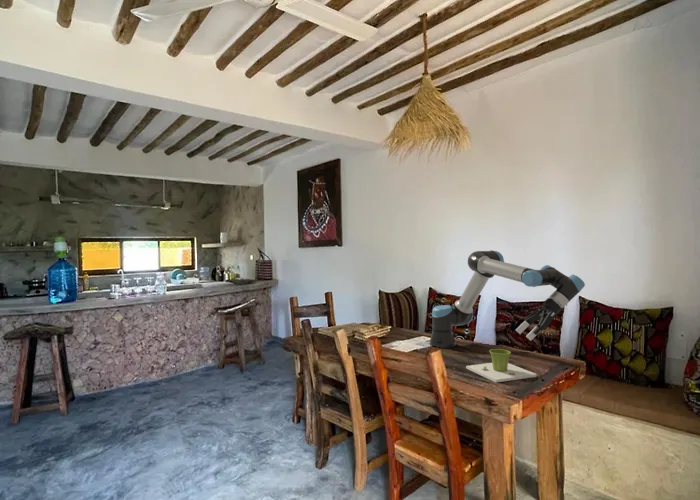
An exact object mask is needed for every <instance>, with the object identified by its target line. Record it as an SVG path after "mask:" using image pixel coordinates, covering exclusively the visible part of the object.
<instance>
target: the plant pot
mask: <svg viewBox="0 0 700 500" xmlns="http://www.w3.org/2000/svg"><path fill="white" fill-rule="evenodd" d="M488 352H489V353H490V355H491V363H492V364H493V369H494V370H496V371H507V366H508V363H509V359H510V357H511V356H510V355H511V353H512V352H511V351H510V350H507V349H502V348H492V349H490V350H489V351H488Z"/></svg>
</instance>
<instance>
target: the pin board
mask: <svg viewBox="0 0 700 500" xmlns="http://www.w3.org/2000/svg"><path fill="white" fill-rule="evenodd" d="M465 368H466V369H467V370H469V371H471V372H472V373H475V374H478V375H480V376H482V377H483V378H485V379H488V380H490V381H492V382H493V383H501V382H508V381H517V380H522V379H529V378H536V377H537V376H538V375H537V373H535V372H532V371H530V370H527V369H525V368H522V367H519V366H516V365H515V364H512V363H509V362H508V366H507V371H496V370H494V369H493V364H492V362H486V363H479V364H471V365H466V366H465Z"/></svg>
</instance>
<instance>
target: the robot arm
mask: <svg viewBox="0 0 700 500" xmlns="http://www.w3.org/2000/svg"><path fill="white" fill-rule="evenodd" d="M467 266H468V267H469V269H470V270H471V271H472V272H474V273H473V275H472V276H471V277H470V278H471V279H469V282H468V283H467V285H466V287H465V289H464V291H463V293H462V295H461V296H460V297H459V299H457V300H456V301H455V302H454V304H453V305H449V304H444V305H443V304H441V305H436V306H434V307H433V308H432V313H431V318H432V319H431V321H432V322H431V323H432V324H431V325H432V333H431V335H430V339H429V346H431V345H432V346H431V347H433V346H436V347H435V348H439V347H440V349H441V348H442V349H445V348H446V349H447V348H448V349H449V348H454V347H456V340H455V336H454V334H453V327H457V326H465V325H468V324H470V323H471V322H472V321H473V320H474V319H473V318H474V315H473V314H474V308H473V307H474V305H475V304H476V301H477V300H478V298H479V296H480V295H481V293H482V291H483V289H484V288H485V286H486V284H487V282H488V280H489V279H492V278H493V277H494V276H498V277H501V278H503V279H509V280H512V281H515V282H520V283H522V284H523V285H525V286H526V287H529V288H530V287H532V288H537V287H540V286H541V287H543V286H552V287H553V288H554V289H555V290H554V291H553V292H552V293H551V294H550V295H549V297H548V298H547V299H545V300H544V302H543V303H542V304H543V306H539V307H537V309H535V310H534V311H532V312H531V313H529V314H528V315H527V316H525V317H524V321H523V322H522V323H521V324H520V325H519V326H518V327H517V328H516V329H515V331H516V333H518V334H519V335H521V334H522V333H523V332H524V331H525V330H526V329H527V328H528V327H530V326H531V324H532V323H533V322H534V323H535V321H537V320H539V322H538V324H536V325H535V327H533V328H532V330H531V331H530V332H529V333H527V334H526V336H525V337H526V338H527V339H528V340H529V341H530V342H531V341H532V340H533V339H535V337H536V336H537V335H538V334H540V333H541V331H546V330H547V328H548V327H549V325H550V324H551V323H552V321H553V319H554V318H555V317H556V316H557V315H558V314H559V313H560V312H561V311H562V309H564V307H566V306H568V304H569V303H570V302H571V301H572V300H573V299H574V298H575V297H576V296H577V295H578V294H579V293H580V292H581V291H582V290H583V289H584V287H585V285H586V284H585V283H586V282H585V281H583V279H582V278H581V277H579V276H578V275H575V274H571V275H569V276H568V275H565V274H564V273H563V272H561V271H560V270H558V269H556V268H555V267H553V266H551V265H549V264H548V265H544V266H542V267H541V268H540V269H534V268H529V267H525V266H522V265H516V264H513V263H509V262H505V260H504V255H503V254H502V253H500V252H499V251H497V250H491V249H490V250H476V251H473V252H471V254H470V255H469V256H468V257H467Z"/></svg>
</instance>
